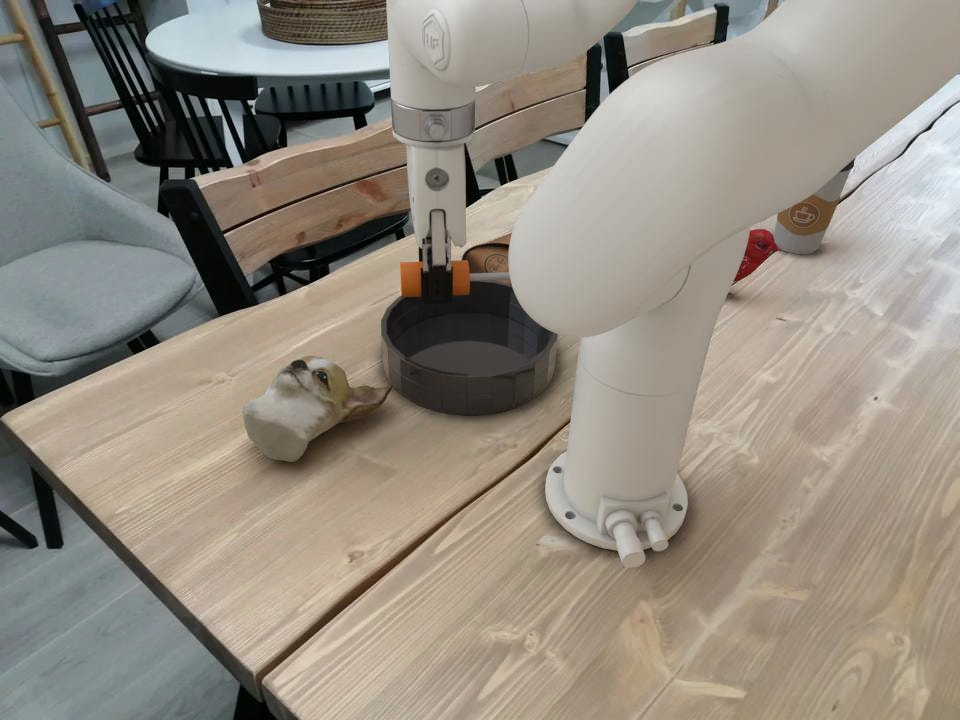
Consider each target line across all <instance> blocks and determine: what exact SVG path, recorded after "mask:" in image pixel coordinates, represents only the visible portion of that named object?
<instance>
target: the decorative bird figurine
mask: <svg viewBox="0 0 960 720" xmlns="http://www.w3.org/2000/svg"><path fill="white" fill-rule="evenodd" d="M775 251H777V252H781V251H782V249H780V248H779V247H778V246H777V244H776V243H775V240H774V234H772V232H771V231H770V230H768V229H765V228H756V229H750V233H749V239H748V243H747V247H746V250H745V254H744V257H743V259H742V262H741V265H740V267H739V270H738V272H737V274H736V277H735V279H734V281H733V283H735V282H738V281H741V280H743V279H745V278H747V277H749V276H751V275H752V274H753V273H754V272H755V271H756V270H757V269H758V268H759V266H760V265H761V264H762V263H763V261H766V260H767V259H768V257H769V256H770V254H771V252H775ZM727 295H730V296H734V294H733V293H731V292H728V294H727Z"/></svg>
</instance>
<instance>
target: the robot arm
mask: <svg viewBox="0 0 960 720" xmlns="http://www.w3.org/2000/svg"><path fill="white" fill-rule="evenodd" d="M638 1H639V0H385V3H386V24H387V25H386V27H387V45H388V67H389V68H388V69H389V81H390V82H389V84H390V85H389V87H390V106H391V107H390V109H391V110H390V112H391V132H392V137H393V138H394V139H395V140H396V141H398V142H399V143H402V144H405V149H406V169H407V171H406V172H407V185H408V186H407V187H408V196H409V198H408V199H409V207H410V213H411V220H412V227H413V232H414V239H415V245H416V246H417V247H418V262H423V268H420V270H421V301H422V303H423V304H449V303H451V302H452V301H453V267H451V261H452V244H453V246H454V247H459V248H464V247H465V246H466V245H467V192H466V191H467V188H466V187H467V185H466V184H467V183H466V182H467V180H466V155H465V153H466V152H465V144H466V143H469V142H470V141H471V140H473V138H474V137H475V134H476V91H477V90H476V88H479V87H484V86H487V85H492V84H496V83H500V82H504V81H508V80H510V79H514V78H519V77H524V76H529V75H534V74H538V73H545V72H548V71H552V70H555V69H559V68H561V67H564V66H566V65H569V64H570V63H573V62H574V61H575V60H577V59H578V58H580V57H581V56H583V55H584V54H585V53H587V51H589V50H590V49H591V48H592V47H594V46H595V45H596V44H597V43H598V42H599V41H601V40H602V39H603V38H604V37H605V36H607V34H608V33H609V32H610V31H612V30H613V29H614V28H615V27H616V26H617V25H618V24H619V23H620V22H622V20H623V19H625V18H626V16H628V14H629V13H630V12H631V11H632V10H633V9H634V7H635V6H636V4H637V3H638ZM959 74H960V0H783V1H782V2H781V3H780V5H778V6H777V7H776V8H775V9H774V10H773V11H771V13H770V14H769V15H768V16H766V18H765V19H764V20H762V21H761V22H760V23H758V24H757V25H756V26H754V28H753V29H751V30H749V31H747V32H745V33H743V34H741V35H738V36H736V37H734V38H730V39H728V40H725V41H722V42H719V43H716V44H712V45H708V46H704V47H700V48H696V49H692V50H687V51H684V52H681V53H677V54H674V55H673V54H672V55H671V56H667V57H665V58H662V59H660V60H657V61H655V62H653V63H651V64H649V65H647V66H645V67H644V68H642V69H641V70H639V71H637V72H636V73H634V74H632V75H631V76H630V77H629V78H627V79H626V80H624V81H623V82H622V83H620V85H618V86H617V87H616V88H615V89H614V90H612V92H610V93H609V94H608V95H607V96H606V97H605V98H604V99H603V101H602V102H601V103H600V104H599V105H598V107H597V108H596V109H595V110H594V112H592V114H591V116H590V117H589V118H588V119H587V120H586V122H585V123H584V124H583V125H582V127H581V128H580V130H579V131H578V132H577V134H576V135H575V137H574V138H573V139H572V140H571V142H570V143H569V145H568V146H567V147H566V149H565V150H564V151H563V153H562V154H561V155H560V156H559V158H558V159H557V160H556V162H555V163H554V164H553V166H552V167H551V168H550V169H549V171H548V173H546V175H545V177H544V178H543V179H542V181H541V182H540V183H539V184H538V186H537V187H536V188H535V190H534V191H533V193H532V194H531V195H530V196H529V198H528V199H527V201H526V203H525V204H524V206H523V207H522V209H521V211H520V213H519V215H518V217H517V218H516V220H515V224H514V225H513V229H512V232H511V233H512V235H511V239H510V245H509V255H508V265H509V274H510V280H511V284H512V287H513V290H514V293H515V295H516V297H517V300H518V301H519V303H520V305H521V306H522V308H523V309H524V310H525V312H526V313H527V314H528V315H529V316H530V317H531V318H532V319H533V320H534V321H535V322H537V323H538V324H539V325H541V326H542V327H544V328H546V329H547V330H549V331H551V332H554V333H556V334H558V336H559V335H560V336H563V337H568V338H579V339H580V340H579V348H578V354H577V364H576V371H575V379H574V387H573V396H572V405H571V413H570V422H569V429H568V438H567V446H566V450H565V451H564V452H563V453H561V454H560V455H558V456H557V458H556V459H555V460H554V461H553V462H552V463H551V465H550V467H549V468H548V470H547V474H546V477H545V484H544V485H545V486H544V493H545V501H546V504H547V506H548V509H549V511H550V513H551V515H552V516H553V518H554V519H555V520H556V522H558V524H560V526H561V527H563V529H564V530H566V531H567V532H569V533H570V534H571V535H573V536H574V537H575V538H577V539H579V540H581V541H583V542H585V543H587V544H590V545H592V546H595V547H597V548H601V549H605V550H611V551H617V553H618V555H619V559H620V562H621V564H622V565H623V567H624V568H626V569H634V568H635V569H636V568H638V567H640V566H642V565H643V564H645V562H646V560H647V557H646V553H645V551H644V550H647V549H650V548H651V549H652V550H653V551H654V552H663V551H664V550H666V549H667V548H668V547H669V544H670V543H669V541H668V540H670V539H671V538H672V537H673V536H675V535H676V534H677V533H678V531H679V529H680V528H681V527H682V526H683V523H684V521H685V517H686V514H687V512H688V511H687V510H688V506H689V499H688V492H687V489H686V486H685V484H684V482H683V480H682V478H681V476H680V475H679V473H678V471H679V466H680V462H681V458H682V455H683V450H684V447H685V442H686V437H687V434H688V430H689V426H690V421H691V417H692V415H693V409H694V405H695V402H696V397H697V394H698V389H699V386H700V381H701V378H702V374H703V372H704V371H703V370H704V367H705V363H706V360H707V355H708V351H709V349H710V348H709V347H710V343H711V340H712V337H713V333H714V330H715V327H716V324H717V321H718V319H719V316H720V313H721V310H722V308H723V305H724V303H725V301H726V299H727V297H728V295H729V294H728V293H730V291H731V288H732V285H733V283H734V282H733V281H734V279H735V277H736V274H737V272H738V270H739V267H740V265H741V262H742V259H743V257H744V254H745V250H746V247H747V243H748V239H749V233H750V230H751V227H752V226H754V225H758V224H759V223H761V222H763V221H766V220H767V219H770V218H771V217H773V216H776V215H778V213H780V212H782V211H784V210H786V209H788V208H790V207H792V206H794V205H795V204H797V203H799V202H801V201H803V200H805V199H806V198H808V197H809V196H811V195H812V194H814V193H815V192H816V191H818V190H819V189H820V188H821V187H823V186H824V185H825V184H826V183H827V182H828V181H829V180H831V179H832V178H833V177H834V176H835V175H836V174H837V173H838V172H839V171H841V170H842V169H843V168H844V167H845V166H846V165H847V164H849V163H850V162H851V161H852V160H853V159H854V158H857V157H858V156H859V155H860V154H861V153H863V152H864V151H865V150H866V149H868V148H869V147H870V146H872V145H873V144H874V143H875V142H877V141H878V140H880V138H881V137H883V136H884V135H885V134H886V133H888V132H889V131H890V130H892V129H893V128H894V127H895V126H897V125H898V124H899V123H901V122H902V121H903V120H904V119H906V118H907V117H908V116H909V115H911V114H912V113H913V112H914V111H916V110H917V109H918V108H920V106H922V105H923V104H924V103H926V102H928V100H929V99H931V98H932V97H933V96H934V95H936V94H937V93H938V92H939V91H940V90H941V89H942V88H944V87H945V86H946V85H947V84H948V83H950V81H952V80H953V79H954V78H955V77H956V76H958V75H959Z"/></svg>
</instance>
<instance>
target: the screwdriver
mask: <svg viewBox="0 0 960 720" xmlns="http://www.w3.org/2000/svg"><path fill="white" fill-rule="evenodd" d="M451 267H453V295H469V291H470V281H493V280H510V274H509V272H502V273H473V274H469V264H468V261H467V260H462V259H459V260H451ZM420 268H423V262H419V261H404V262H403V261H402V262H399V271H400V273H399V274H400V290H401V291H400V294H401V295H400V296H402V297H421V270H420Z"/></svg>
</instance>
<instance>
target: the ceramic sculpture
mask: <svg viewBox="0 0 960 720" xmlns="http://www.w3.org/2000/svg"><path fill="white" fill-rule="evenodd" d="M392 388H393V386H392V385H387V386H382V387H374V386H370V385H361V386H355V387H354V386H353V387H351V386H350V384H349V380H348V378H347V374H346V372H345V370H344V369H343V368H342V367H341V366H339V365H338V364H337V363H335V362H334V361H332V360H331V359H328V358H325V357H322V356H315V355H307V356H303V357H301V358H299V359H295V360H293V361H291V363H289V364H287V365H285V366H284V367H282V368H281V369H280V370H279V371H278V372H277V374H276V376H275V377H274V379H272V382H271V383H270V384H269V386H268V387H267V388H266V390H265V392H264V393H263V395H262V396H261V397H257V398H253V399H251V400H249V401H246V402H245V404H243V407H242V411H241V413H242V414H241V415H242V419H243V424H244V428H245V431H246V434H247V437H248V439H249V440H250V441H252V442H253V444H254V445H255V446H256V447H257V448H258V449H259V451H260V452H261V453H263V454H264V456H265V457H267V458H268V459H270V460H273V461H283V462H289V463H292V462H296V461H298V460H299V459H300V458H301V457H302V456H303V454H304V453H305V451H306V450H307V448H308V444H309V442H311V441H312V440H313V439H315V438H317V437H318V436H320V435H321V434H323V433H325V432H327V431H328V430H330V429H332V428H333V427H335V426H336V425H338V424H339V423H347V422H350V421H354V420H359V419H362V418H366V417H369V416H371V415H372V414H373V413H375V412H376V411H377V410H378V409H379V408H380V407H381V406H382V405H383V404H384V402H385V401H386V400H387V398H388V396H389V394H390V393H391V391H392Z"/></svg>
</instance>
